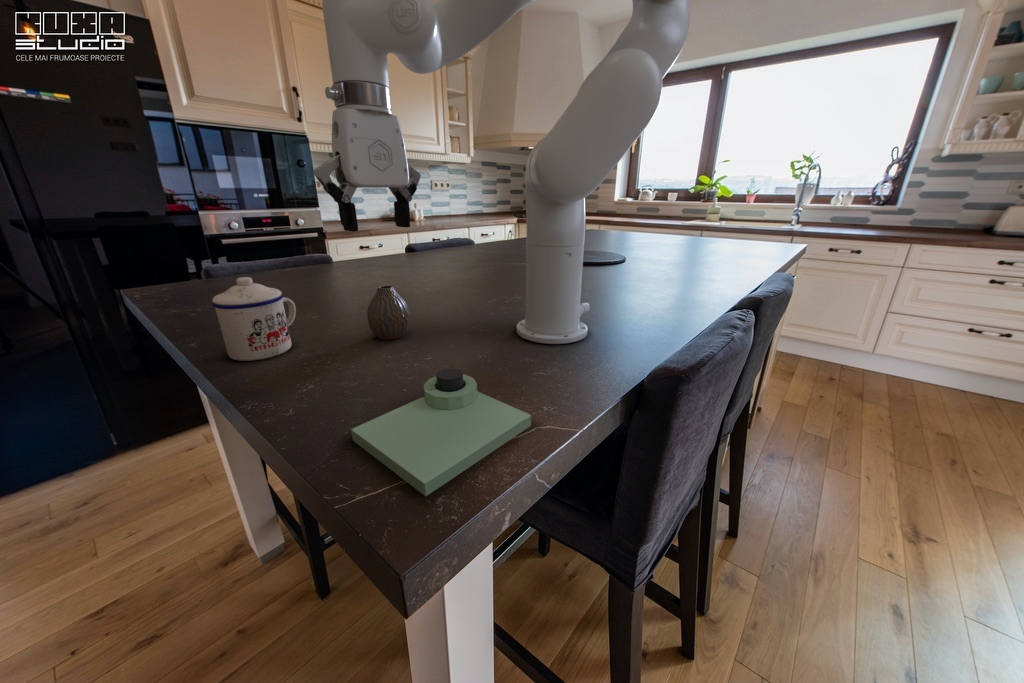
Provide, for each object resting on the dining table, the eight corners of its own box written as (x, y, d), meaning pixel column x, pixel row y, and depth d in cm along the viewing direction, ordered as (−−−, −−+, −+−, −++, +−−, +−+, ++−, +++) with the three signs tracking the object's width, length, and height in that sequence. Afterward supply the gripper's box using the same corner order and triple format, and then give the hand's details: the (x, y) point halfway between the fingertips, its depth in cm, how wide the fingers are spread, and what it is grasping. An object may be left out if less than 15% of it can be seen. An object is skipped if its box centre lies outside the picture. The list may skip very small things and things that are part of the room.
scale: (454, 390, 50) (453, 368, 49) (531, 426, 42) (531, 401, 41) (350, 439, 40) (346, 413, 39) (425, 497, 33) (422, 467, 32)
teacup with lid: (256, 366, 57) (236, 286, 53) (212, 357, 60) (190, 282, 56) (320, 338, 68) (307, 271, 63) (280, 332, 70) (265, 267, 66)
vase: (400, 344, 65) (394, 292, 62) (362, 341, 66) (354, 290, 63) (417, 331, 71) (413, 283, 68) (382, 328, 73) (377, 281, 69)
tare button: (451, 379, 47) (451, 365, 47) (468, 386, 45) (468, 372, 45) (431, 387, 45) (430, 374, 45) (448, 396, 43) (448, 382, 43)
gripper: (314, 87, 48) (336, 234, 54) (429, 108, 60) (436, 226, 66) (288, 96, 52) (312, 231, 59) (400, 114, 65) (410, 224, 71)
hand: (378, 228), depth 62 cm, fingers open, 8 cm apart
